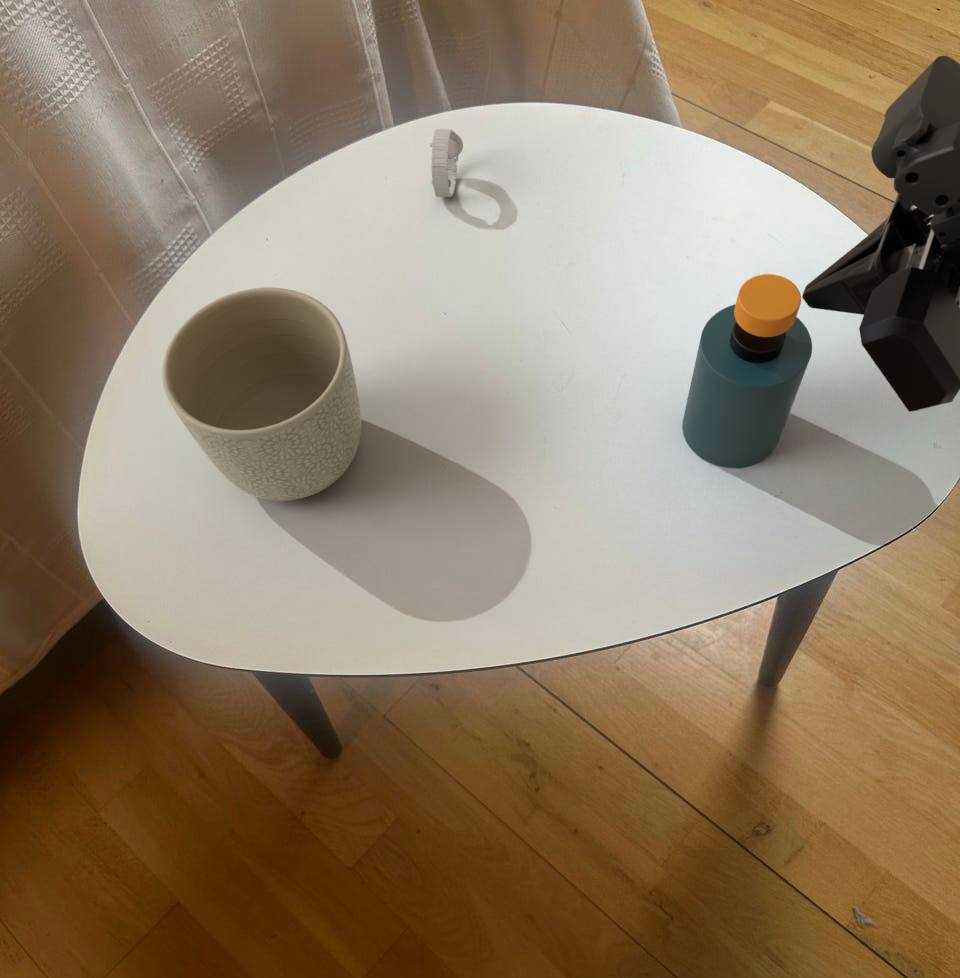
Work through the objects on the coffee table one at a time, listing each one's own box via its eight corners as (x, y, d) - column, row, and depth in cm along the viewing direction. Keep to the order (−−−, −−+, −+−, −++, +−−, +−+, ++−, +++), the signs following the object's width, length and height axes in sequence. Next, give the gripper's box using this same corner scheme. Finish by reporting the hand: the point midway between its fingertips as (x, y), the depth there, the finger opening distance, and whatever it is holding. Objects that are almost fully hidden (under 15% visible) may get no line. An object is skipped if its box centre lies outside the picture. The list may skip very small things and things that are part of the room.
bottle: (794, 408, 68) (832, 309, 58) (759, 481, 65) (794, 390, 56) (703, 377, 69) (727, 276, 60) (667, 447, 67) (685, 353, 58)
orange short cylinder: (804, 302, 57) (810, 284, 56) (783, 345, 56) (789, 327, 54) (746, 284, 58) (751, 266, 56) (724, 326, 57) (729, 308, 55)
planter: (206, 413, 71) (151, 312, 61) (357, 374, 72) (326, 267, 62) (229, 542, 66) (173, 455, 56) (391, 499, 67) (363, 405, 57)
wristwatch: (465, 169, 81) (460, 117, 76) (459, 209, 79) (453, 158, 74) (434, 168, 81) (427, 117, 76) (426, 208, 79) (419, 157, 74)
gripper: (1075, -93, 41) (780, 89, 54) (993, 180, 35) (679, 315, 47) (1154, 106, 47) (869, 229, 59) (1095, 374, 40) (790, 449, 53)
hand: (806, 297), depth 54 cm, fingers closed
